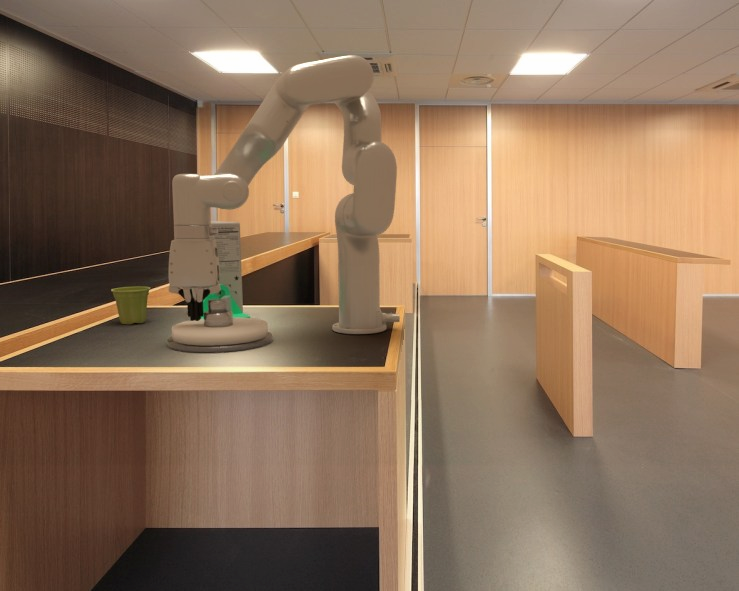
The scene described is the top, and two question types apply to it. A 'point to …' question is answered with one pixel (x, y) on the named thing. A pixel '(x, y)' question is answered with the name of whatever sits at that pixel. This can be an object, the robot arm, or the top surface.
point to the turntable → (220, 331)
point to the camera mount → (224, 292)
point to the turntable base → (220, 346)
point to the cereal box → (228, 259)
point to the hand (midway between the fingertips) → (195, 319)
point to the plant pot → (131, 304)
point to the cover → (218, 314)
